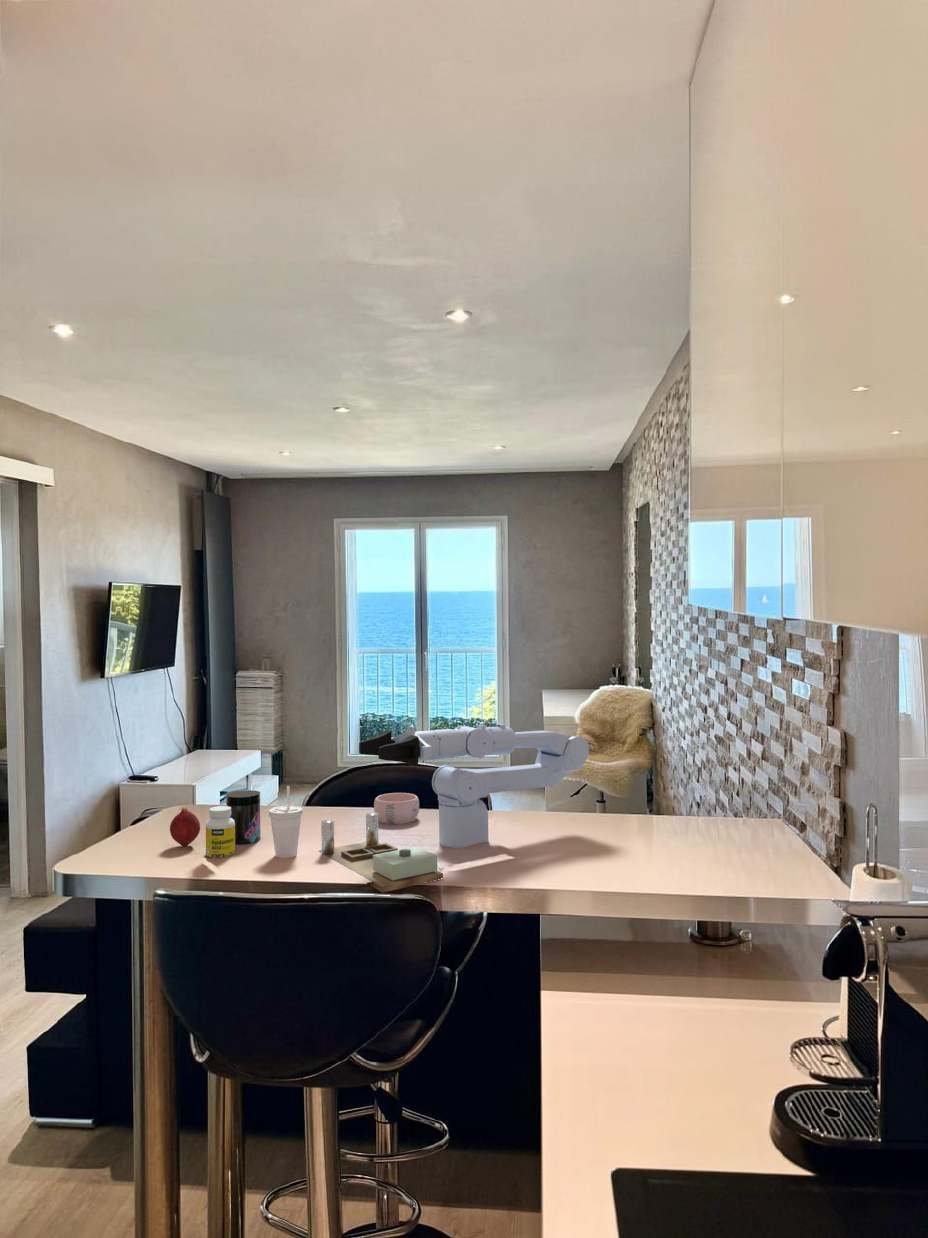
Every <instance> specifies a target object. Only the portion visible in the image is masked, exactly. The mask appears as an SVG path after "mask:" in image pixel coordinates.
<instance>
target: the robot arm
mask: <svg viewBox="0 0 928 1238" xmlns="http://www.w3.org/2000/svg"><path fill="white" fill-rule="evenodd" d="M514 731H515V730H514V729H512V728H511V727H510V726H506V724H505V723H496V726H486V725H485V724H478V725H477V727H473V726H467V725H466V726H465V725H463V724H461V725H458V726H456V727H455V728H454V729H452V728H442V729H434V730H433V729H432V730H422V731H420V730H419V731H416V727H415V726H413V725H407V726H406V730H405V732H403V733H401V734H398V735H396V736H395V737H394V736H393V737H392V733H393V732H392V730H388V729H387V730H384V731H383V732H381V733H380V734H378V735H377V736H375V737H371V738H368V739H366V740H362V741H360V742H358V753H359V755H366V756H378V760H383V761H387V762H390V761H391V762H400V763H405V764H407V765H409V766H411V767H414V768H415V767H418V765H419V762H425V761H434V760H443V759H453V758H459V757H465V756H466V757H471V758H478V759H483V758H485V757H486V756H501V755H502V756H503V755H505V756H506V755H510V754H511V753H513V752H514V751H515V749H537V750H538V751H537V755H536V759H535V762H534V764H533V763H532V764H522V765H521V764H520V765H510V766H503V767H491V768H489V767H488V768H481V769H474V768H456V767H454V766H451V765H448V764H445V765H441V766H440V767H437V769H436V770H435V771H434V773H433V775H432V779H431V786H432V787H431V788H432V790H433V791H434V793H435V794H436V795H437V800H438V827H439V828H438V829H439V830H438V831H439V832H438V833H439V834H438V840H439V843H438V844H439V845H440V846H443V847H447V848H458V849H459V848H465V847H466V848H467V847H471V846H474V845H477V844H481V843H482V844H483V843H486V842H489V814H488V813H489V811H488V807H487V805H486V804H485V802H484V801H483V800H481V798H482V799H483V798H487V796H488V794H493V793H495V794H496V793H502V792H503V793H504V792H512V791H520V790H528V789H529V790H530V789H531V790H532V789H539V788H548V787H553V786H555V785H557V784H558V783H559V782H561V780H563V779H565V777H567V776H569V775H570V774H571V773H573V772H576V771H580V770H582V768H583V767H584V765H585V764H586V762H587V759H588V757H589V754H590V746H589V743H588V741H587V740H586V739H585V738H584V737H582V736H578V735H577V736H574V735H570V734H564V733H560V732H556V731H549V730H529V731H516V732H514Z"/></svg>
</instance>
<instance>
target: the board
mask: <svg viewBox="0 0 928 1238" xmlns="http://www.w3.org/2000/svg"><path fill="white" fill-rule="evenodd" d="M378 843H379V844H378V845H373V846H367V845H366V841H363V842H359V843H353V844H347V845H342V846H341V845H340V846H336V847H335V846H334V853H333V854H329V855H325V856H326V857H328V858H330V859H331V860H333V861H335V862H337V863H338V864H340V865H342V866H344V867H345V868H347V869H349V870H351V871H353V872H355V873H356V874H358V875H360V876H362V877H363V878H365V879H367V880H369V882H365V884H366V885H368V886H370V887H371V888H374V889H375V890H377V891H379V892H380V893H386V892H387V893H388V892H392V891H397V890H400V889H406V888H410V887H415V886H419V885H422V884H421V883H424V884H426V883H425V882H428V883H431V882H430V881H432V882H435V881H434V880H437V881H439V880H438V879H441V878H443V879H444V874H443V872H441V871H438V870H437V871H434V872H430V873H425V874H421V875H416V876H411V877H407V878H402V879H397V880H391V879H389V878H387V877H385V876H383V875H381V874H379V873H378V872H376V871H374V870H373V855H375V854H381V853H386V852H391V851H396V850H399V849H398V847H395V846H393V845H391V844H389V843H387V842H385V843H380V842H378ZM318 852H320V853H321V854H322V849H320V850H318ZM441 880H442V879H441ZM418 884H419V885H418Z"/></svg>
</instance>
